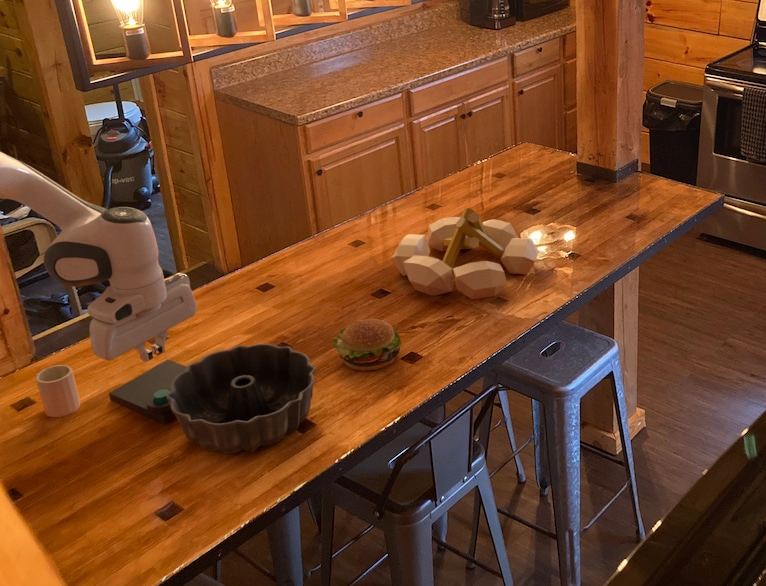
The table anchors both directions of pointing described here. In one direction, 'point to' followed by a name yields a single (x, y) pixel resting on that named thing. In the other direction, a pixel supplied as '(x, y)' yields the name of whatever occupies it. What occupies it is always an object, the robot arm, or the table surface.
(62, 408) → the white cup
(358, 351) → the food
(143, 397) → the scale
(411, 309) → the table surface
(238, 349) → the bundt pan
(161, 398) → the button
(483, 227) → the campfire
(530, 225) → the table surface
